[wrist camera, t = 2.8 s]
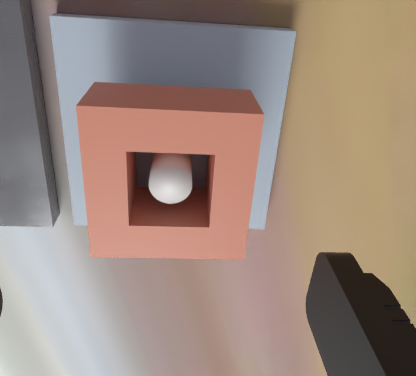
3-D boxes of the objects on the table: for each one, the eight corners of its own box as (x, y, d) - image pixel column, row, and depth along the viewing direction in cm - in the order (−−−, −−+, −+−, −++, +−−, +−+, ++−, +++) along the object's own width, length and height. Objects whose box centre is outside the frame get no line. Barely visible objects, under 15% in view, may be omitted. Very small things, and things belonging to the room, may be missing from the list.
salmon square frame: (250, 89, 15) (264, 114, 13) (235, 217, 18) (244, 259, 16) (94, 81, 15) (75, 105, 12) (104, 214, 18) (90, 257, 15)
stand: (290, 28, 17) (332, 51, 12) (260, 219, 22) (282, 288, 17) (56, 12, 16) (4, 31, 12) (78, 214, 21) (47, 286, 16)
